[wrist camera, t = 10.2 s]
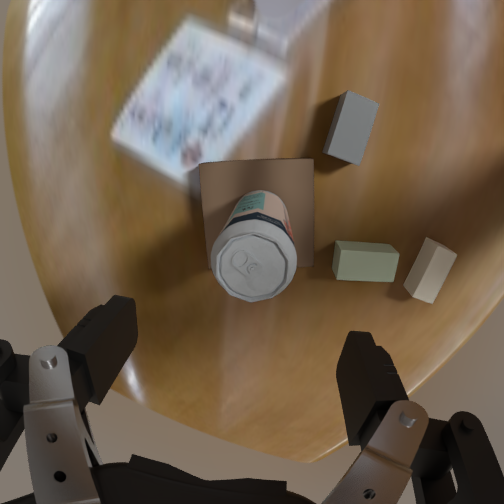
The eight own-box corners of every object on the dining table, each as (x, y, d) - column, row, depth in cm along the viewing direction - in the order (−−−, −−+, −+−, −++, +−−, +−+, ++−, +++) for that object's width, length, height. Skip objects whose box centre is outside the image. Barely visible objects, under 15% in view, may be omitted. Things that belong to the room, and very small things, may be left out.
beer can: (264, 251, 28) (258, 323, 17) (223, 219, 27) (189, 273, 16) (298, 212, 27) (317, 264, 16) (256, 178, 26) (245, 205, 15)
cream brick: (425, 236, 29) (438, 245, 26) (444, 245, 29) (457, 254, 26) (402, 284, 31) (412, 297, 28) (421, 291, 31) (432, 303, 28)
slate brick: (340, 95, 25) (347, 90, 22) (368, 107, 25) (379, 103, 22) (321, 152, 27) (327, 153, 24) (350, 163, 27) (359, 165, 24)
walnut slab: (310, 158, 27) (313, 159, 25) (311, 258, 30) (313, 266, 29) (203, 162, 28) (198, 164, 26) (212, 261, 31) (208, 269, 29)
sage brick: (389, 243, 30) (399, 253, 27) (384, 270, 31) (393, 282, 28) (335, 239, 30) (341, 249, 27) (331, 267, 31) (336, 279, 28)
